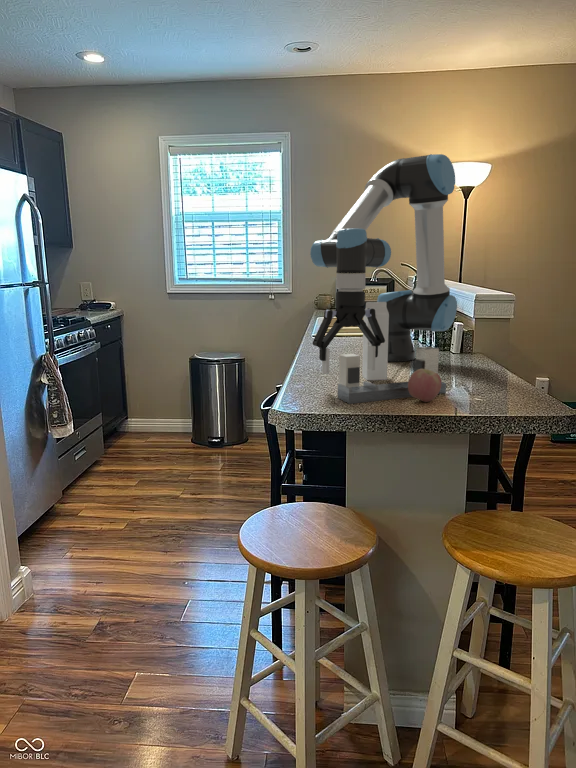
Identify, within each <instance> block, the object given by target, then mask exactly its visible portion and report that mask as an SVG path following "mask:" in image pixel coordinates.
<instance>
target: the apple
mask: <svg viewBox="0 0 576 768" xmlns="http://www.w3.org/2000/svg"><path fill="white" fill-rule="evenodd" d="M407 382H408V390H409V393H410V395H411V396H413V397H412V398H416V399H418V400H419V401H421V402H424V403H428V402H431V401H433V400H435V398H436V397H437V396H438V395H439V394H438V393H439V391H440V389H441V382H442V379H441V377H440V375H439V373H438V374H437V373H435V372H433V371H431V370H428V369H418V370H416V371H415V372H414V371H413V372H412V373H411V375H410V376H409V379H408V381H407Z"/></svg>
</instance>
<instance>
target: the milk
mask: <svg viewBox="0 0 576 768" xmlns="http://www.w3.org/2000/svg"><path fill="white" fill-rule="evenodd" d="M386 304H387V303H386V302H377V301H365V307H364V309H365V310H367V309H368V308H371V309H375V315H376V319H377V322H378V324H379V327H380V329H381V331H382V334H383V336H384V339H385V342H384V343H381V344H380V346H378V356H377V357H375V370H370V369H367V366H368V345H372V344H371V343H370V342H369V340H368V339H367V338H366V336H365V335H364V334H363V333H362V366H361V367H362V369H361V370H362V371H361V372H362V376H361V377H362V378H363V379H364V380H366V381H386V380H387V381H388V362H389V361H388V330H389V313H388V310H387V307H386ZM363 320H364V322H365V323H366V325H367V327H368V328H369V329H370V331H371V332H372V334H373V335H374V333H373V331H372V328H371V326H370V323H369V321H368V318H367V317H366V315H365V316H364V317H363ZM374 336H375V335H374Z"/></svg>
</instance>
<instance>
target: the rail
mask: <svg viewBox="0 0 576 768" xmlns="http://www.w3.org/2000/svg"><path fill="white" fill-rule="evenodd" d="M415 351H416V352H415V359H414V363H413V364H414V367H413V372H415V371H416V370H418V369H428V370H431V371H433V372H435V373H437V374H438V375H439V357H440V356H439V355H440V348H437V347H435V346H434V347H433V346H419V347H418V346H416V348H415ZM362 384H363V385H361V386H359V387H347V386H345V385H343V384H339V383H337V399H338V398H339V399H338V400H340V399H341V400H340V401H342V400H343V401H342V402H345V403H346V402H347V403H346V404H349V405H351V404H358V403H359V404H360V403H368V402H377V401H385V400H386V401H387V400H388V401H389V400H397V399H404V398H414V397H413V396H411V395H410V393H409V390H408V381H402V382H400V381H399V382H389V383H382V384H381V383H380V384H375V383H372V382H370V381H368V380H366V381H363V382H362ZM446 393H447V383H446V382H443V381H441V389H440V391H439V393H438V395H441V394H446Z"/></svg>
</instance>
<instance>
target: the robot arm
mask: <svg viewBox="0 0 576 768" xmlns="http://www.w3.org/2000/svg"><path fill="white" fill-rule="evenodd" d="M455 185H456V172H455V169H454V165H453V163H452V161H451V159H450V158H449V157H448V156H447V155H446V154H442V153H441V154H436V153H435V154H431V153H430V154H427V155H426V154H425V155H421V156H420V155H419V156H413V157H411V156H410V157H406V158H404V157H403V158H398V159H394V160H392V161H391V162H389V163H388V164H386V165H385V166H383V167H381V168H380V169H379V170H377V172H376V173H374V175H373V176H371V178H370V179H369V180H368V181H367V182H366V184H365V186H364V191H363V192H362V194H361V195H360V197H359V198H357V200H356V201H355V203H354V204H353V205H352V206H351V208H349V211H348V212H347V213H346V214H345V216H344V217H343V218H342V219H341V220H340V221H339V222H338V224H337V225H336V227H335V228H334V229H333V230H332V232H330V234H329V235H328V236H327V238H326V239H320V240H315V241H314V242H313V243H312V245H311V247H310V254H309V255H310V259H311V261H312V263H313V265H314V266H316V267H321V268H336V270H335V271H336V277H335V278H336V281H335V284H336V285H335V289H337V291H336V292H335V307H336V308H335V310H331V309H325V310H324V312H323V313H324V314H323V319H322V320H321V321H322V322H321V323H320V326H319V328H318V329H317V332H316V334H315V336H314V339H313V341H312V345H313V346H315V347H317V348H318V349H319V353H318V354H319V360H320V361H321V363H322V364H321V365H322V366H321V372H322V373H324V374H326V375H327V374H328V375H329V374H330V350H331V349H330V348H328V346H329V345H330V344H331V342H332V341H333V340H334V339H335V337H336V336H337V334H338V333H339V332H340V330H341V329H343V328H344V327H345V328H347V327H348V328H349V327H358V329H359V330H360V331H361V332H362V335H363V334H364V335H365V336H366V338H367V339H368V340H369V342H370V343H371V344H372V345H368V366H367V369H370V370H375V357H377V356H378V346H380V344H381V343H384V342H385V339H384V336H383V334H382V331H381V329H380V327H379V324H378V322H377V319H376V315H375V309H371V308H368V309H367V310H365V306H366V293H365V291H364V290H365V289H366V269H367V268H379V267H381V268H382V267H384V266H386V265H387V263H389V261H390V259H391V257H392V248H391V246H390V244H389V243H388V242H387V241H386V240H384V239H380V238H378V237H377V238H372V237H371V238H370V237H369V238H368V232H367V230H368V228H369V227H370V226H371V225H372V223H373V222H374V220H376V218H377V217H378V215H379V214H380V213H381V211H382V210H383V208H386V207H388V206H389V205H391V203H392V202H393V201H395V200H398V199H407V198H408V202H409V203H408V204H409V206H410V207H411V208H412V209H413V210H414V231H415V232H414V233H415V235H414V236H415V256H416V257H415V259H416V262H415V263H416V286H415V288H414V289H413V290H411V289H407V290H398V291H391V292H390V291H389V292H382V293H380V294H379V295H378V296H377V300H376V302H386V303H387V304H386V307H387V310H388V313H389V330H388V362H408V361H413V360H415V359H416V352H415V351H416V350H415V348H414V345H413V341H412V338H411V337H412V336H411V332H412V331H411V330H414V331H416V330H417V331H426V332H427V331H430V332H445V331H446V332H447V331H448V330H449V328H450V327H452V325H453V323H454V322H455V318H456V315H457V310H458V308H457V307H458V301H457V298H456V296H454V295H452V294H450V290H451V289H450V287H448V285H446V284H445V282H446V281H445V280H446V279H445V278H446V277H445V243H444V241H445V240H444V237H445V236H444V234H445V233H444V206H445V204H446V203H447V202H448V201H449V195H451V194H453V193H454V190H455ZM365 315H366V317H367V318H368V321H369V323H370V326H371V328H372V331H373V333H374V335H375V336H374V335H373V334H372V332H371V331H370V329H369V328H368V327H367V325H366V323H365V322H364V320H363V317H364V316H365ZM334 317H335V318H336V319H335V321H334V322H333V325H332V326H331V323H332V319H334ZM330 326H331V328H329V327H330Z"/></svg>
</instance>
